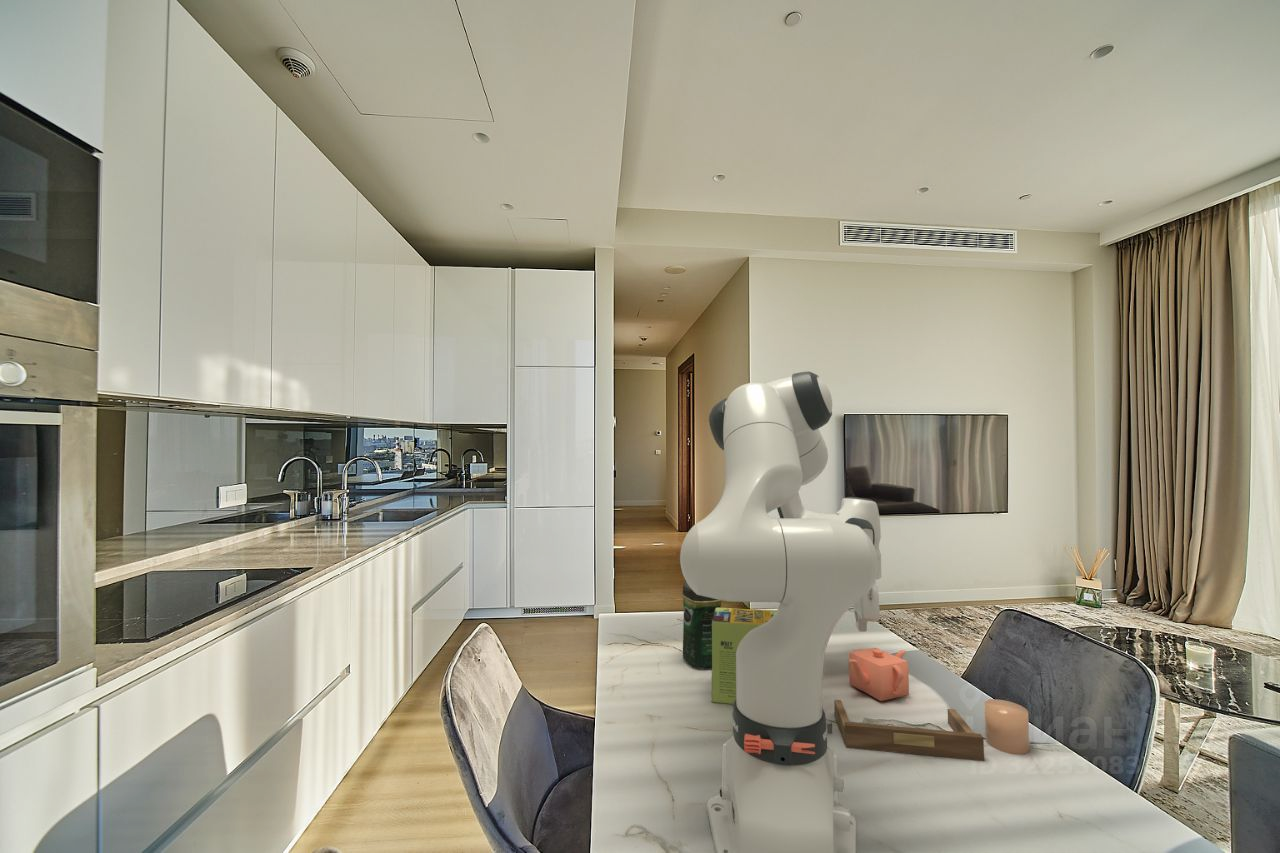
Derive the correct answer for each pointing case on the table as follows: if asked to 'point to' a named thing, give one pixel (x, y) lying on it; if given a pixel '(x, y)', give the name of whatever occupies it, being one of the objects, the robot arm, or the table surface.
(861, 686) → the teapot
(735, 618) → the protein box
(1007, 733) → the peach rounded cylinder
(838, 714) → the display bay
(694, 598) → the coffee jar
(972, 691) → the table surface
